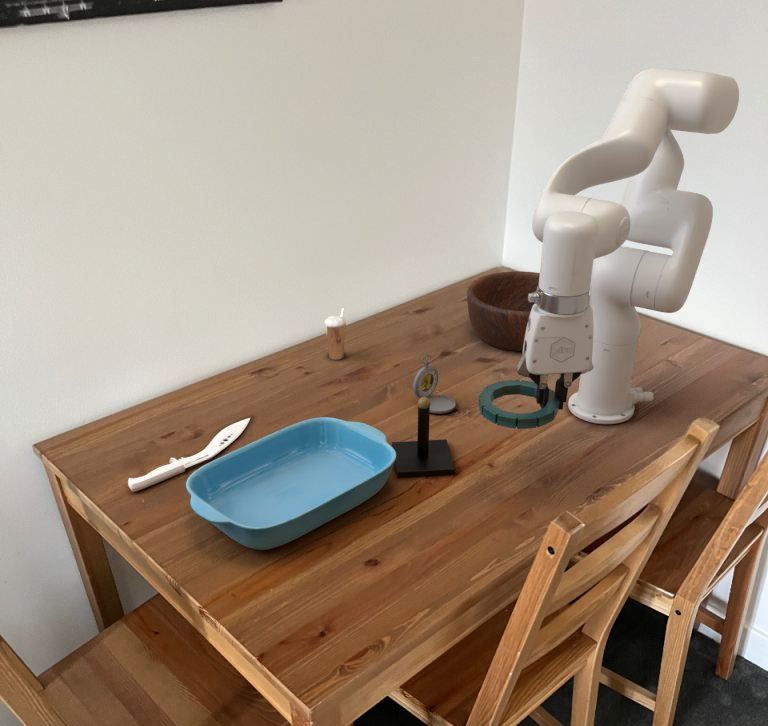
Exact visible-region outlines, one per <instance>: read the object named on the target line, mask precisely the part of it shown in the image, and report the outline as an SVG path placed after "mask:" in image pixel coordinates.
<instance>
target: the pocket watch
mask: <svg viewBox="0 0 768 726" xmlns="http://www.w3.org/2000/svg"><path fill="white" fill-rule="evenodd" d="M426 356H428V358H429V359H427V358H426V359H425V361H423V360H424V358H425V357H426ZM431 359H432V356H431V355H430V354H429V353H427V354H424V355H422V357H421V360H420V361H421V363H422V364H424V366H423V367H421V368H420V369H419V370H418V371H417V373H416V375H415V377H414V379H413V383H412V391H413V394H414V395H415V396H416V397H417V398H418V399H420V398H421V397H427V398H428V399H429V400H430V403H431V404H430V414H431V413H432V414H438V415H441V414H448V413H450V412H453V410H455V408H456V406H457V405H456V400H455V399H454V398H452V397H451V396H449V395H444V394H433V393H434V392H435V390H436V388H437V385H438V382H439V372H438V371H439V370H438V369H437V368H436V367H435V366H433V365H429V364H430V361H431Z"/></svg>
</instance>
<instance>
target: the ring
mask: <svg viewBox="0 0 768 726" xmlns="http://www.w3.org/2000/svg"><path fill="white" fill-rule="evenodd" d="M536 393H537V384H536V383H535V382H534V381H529V380H525V379H521V380H520V379H510V380H500V381H497V382H494V383H491V384H489V385H486V386H485V387H484V388H483V389H482V391H481V392H480V393H479V395H478V404H477V406H478V410H479V412H480V416H482V418H485V419H486V420H487V421H489V422H490V423H492V424H494V425H497V426H498V427H499V426H500V427H505V428H510V429H513V430H515V429H517V430H524V429H525V430H526V429H536V428H541V427H543V426H545V425H548V424H550V423H552V422H553V421H554V420H555V419H556V417H557V415H558V413H559V411H560V410H559V403H560V401H559V399H558V397H557V395H556V393H555V390H553V389H551V388H549V399H548V402H547V404H546V406H545V407H544V408H543V409H541V408H540V409H538V410H536V411H533V412H521V413H516V412H511V411H507V410H503V409H502V408H499V407H498V406H496V405H494V404H493V402H494V400H496V399H499V398H502V397H504V396H513V395H514V396H515V395H519V396H520V395H521V396H526V397H531V398H534V399H536Z"/></svg>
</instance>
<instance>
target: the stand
mask: <svg viewBox="0 0 768 726" xmlns="http://www.w3.org/2000/svg"><path fill="white" fill-rule="evenodd" d="M430 404H431V403H430V400H429V399H428V398H427V397H421V398H418V400H417V438H416V439H417V440H409V441H408V440H407V441H392V442H391V446H392V447H393V449H394V450H395V452H396V460H395V462H394V465H395V470H396V477H397V478H398V479H401V478H402V479H403V478H421V477H422V478H423V477H437V476H454V475H456V468H455V464H454V461H453V458H452V453H451V450H450V446H449V444H448V441H447V439H446V438H445V439H444V438H443V439H430V417H431V415H430V414H431V412H430Z"/></svg>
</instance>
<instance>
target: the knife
mask: <svg viewBox="0 0 768 726" xmlns="http://www.w3.org/2000/svg"><path fill="white" fill-rule="evenodd" d="M250 420H251V417H248V418H245V419H241V420H239V421H237V422H234V423H232V424H230V425H227V426H226V427H225V428H223V429H221V430H220V431H219V432H218V433H217V434H216V435H215V436H214V437H213V438H212V439H211V440H210V442H209V443H208V445H206V447H205V448H204V449H202V450H201V451H199V452H198V453H195V454H194V455H191V456H187V457H179V458H178V459H177V458H175V457H170V458H169V463H168V464H164V465H161V466H159V467H157V468H156V469H153V470H151V471H150V472H148V473H147V474H144V475H142V476H138V477H134V478H132V477H129V478H128V479H127V486H128V488H129V489H130V491H131V492H132V493H133V492H138V491H140V490H144V489H146V488H148V487H151V486H153V485H157V484H158V483H160V482H163V481H166V480H168V479H170V478H173V477H175V476H177V475H180V474H182V473H184V472H186V469H187V468H190V467H193V466H194V465H197V464H200V463H202V462H204V461H206V460H212V458H214V457H215V456H216V455H218V454H220V452H221V451H223V450H224V449H225V448H227V447H228V446H229V445H231V443H233V442H234V441H235V440H236V439H237V438H238V437H239V436H240V435H241V434H242V433H243V431H244V430H245V429H246V427H247V426H248V424H249V422H250Z"/></svg>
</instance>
